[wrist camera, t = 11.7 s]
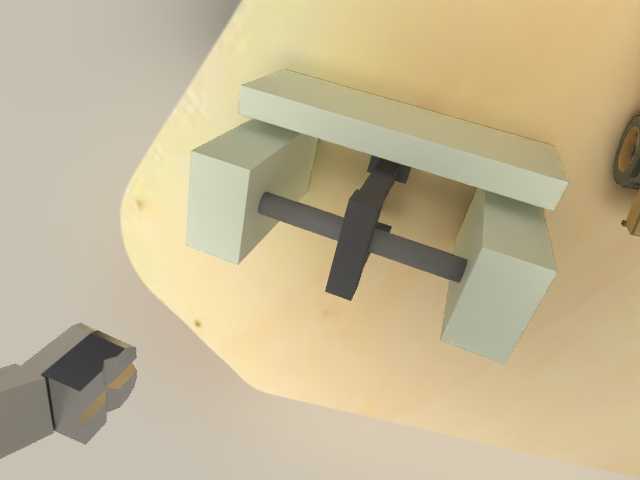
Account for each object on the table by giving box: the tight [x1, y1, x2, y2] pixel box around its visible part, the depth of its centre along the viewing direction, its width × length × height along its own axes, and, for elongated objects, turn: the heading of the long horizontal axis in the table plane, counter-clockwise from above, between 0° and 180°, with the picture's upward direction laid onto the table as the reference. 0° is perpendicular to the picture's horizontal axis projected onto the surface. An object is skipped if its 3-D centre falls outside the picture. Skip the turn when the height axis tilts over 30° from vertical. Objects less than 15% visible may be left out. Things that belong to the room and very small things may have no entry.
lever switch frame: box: [186, 70, 569, 364], centre depth 33 cm, size 22×10×14 cm, turn 78°
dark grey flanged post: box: [325, 155, 411, 301], centre depth 32 cm, size 3×7×9 cm, turn 168°
